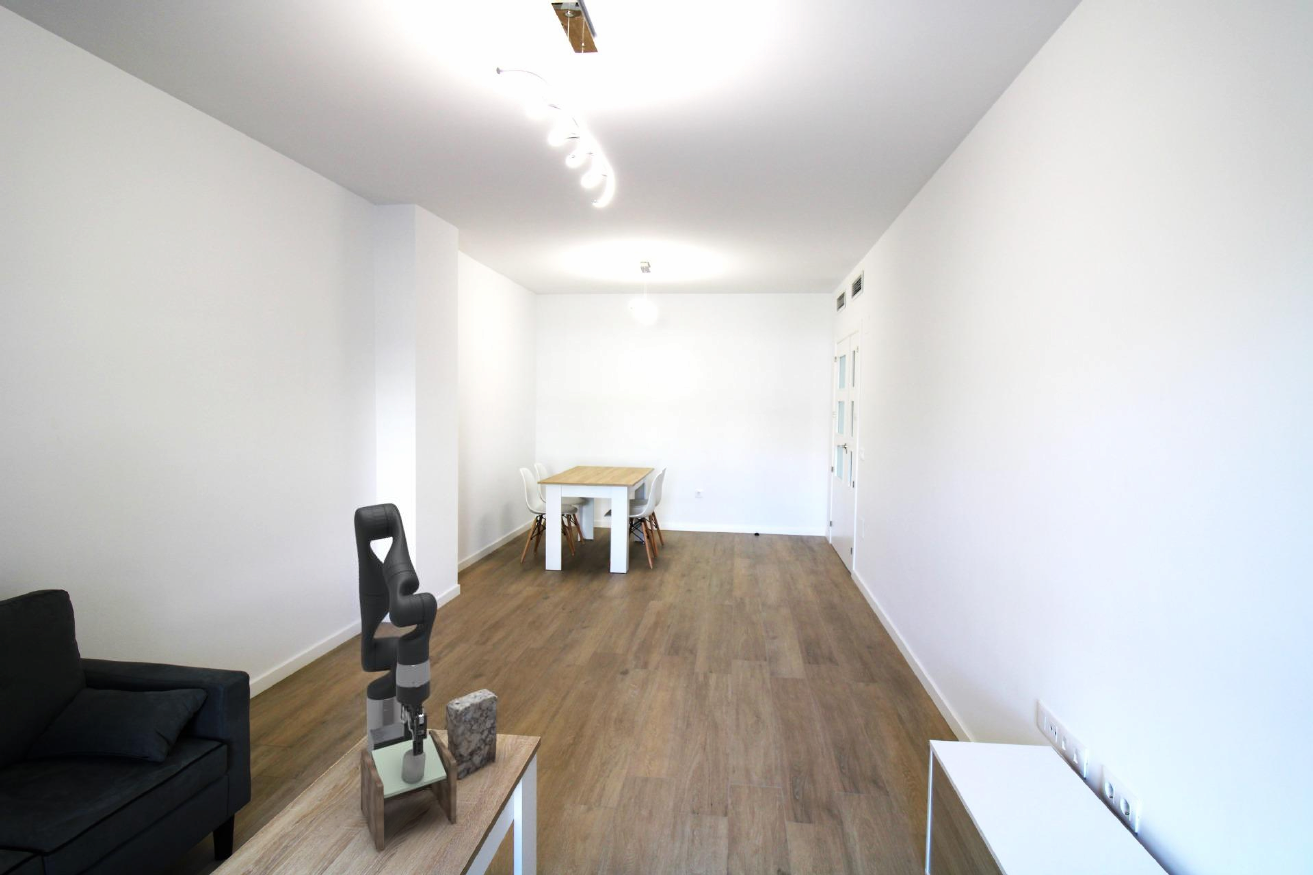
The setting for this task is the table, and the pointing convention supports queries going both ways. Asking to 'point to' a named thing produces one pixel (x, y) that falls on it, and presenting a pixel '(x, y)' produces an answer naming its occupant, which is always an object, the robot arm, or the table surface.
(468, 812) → the table surface
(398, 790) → the trapdoor
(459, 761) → the stone block
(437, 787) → the stand
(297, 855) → the table surface
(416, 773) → the smooth gray cylinder
